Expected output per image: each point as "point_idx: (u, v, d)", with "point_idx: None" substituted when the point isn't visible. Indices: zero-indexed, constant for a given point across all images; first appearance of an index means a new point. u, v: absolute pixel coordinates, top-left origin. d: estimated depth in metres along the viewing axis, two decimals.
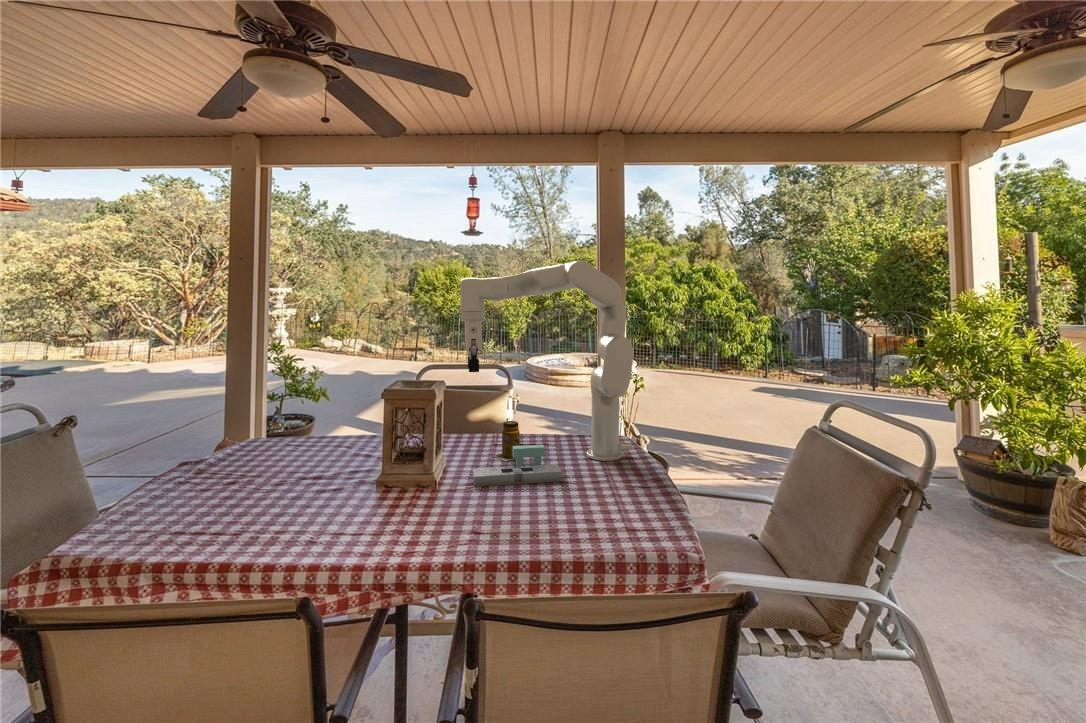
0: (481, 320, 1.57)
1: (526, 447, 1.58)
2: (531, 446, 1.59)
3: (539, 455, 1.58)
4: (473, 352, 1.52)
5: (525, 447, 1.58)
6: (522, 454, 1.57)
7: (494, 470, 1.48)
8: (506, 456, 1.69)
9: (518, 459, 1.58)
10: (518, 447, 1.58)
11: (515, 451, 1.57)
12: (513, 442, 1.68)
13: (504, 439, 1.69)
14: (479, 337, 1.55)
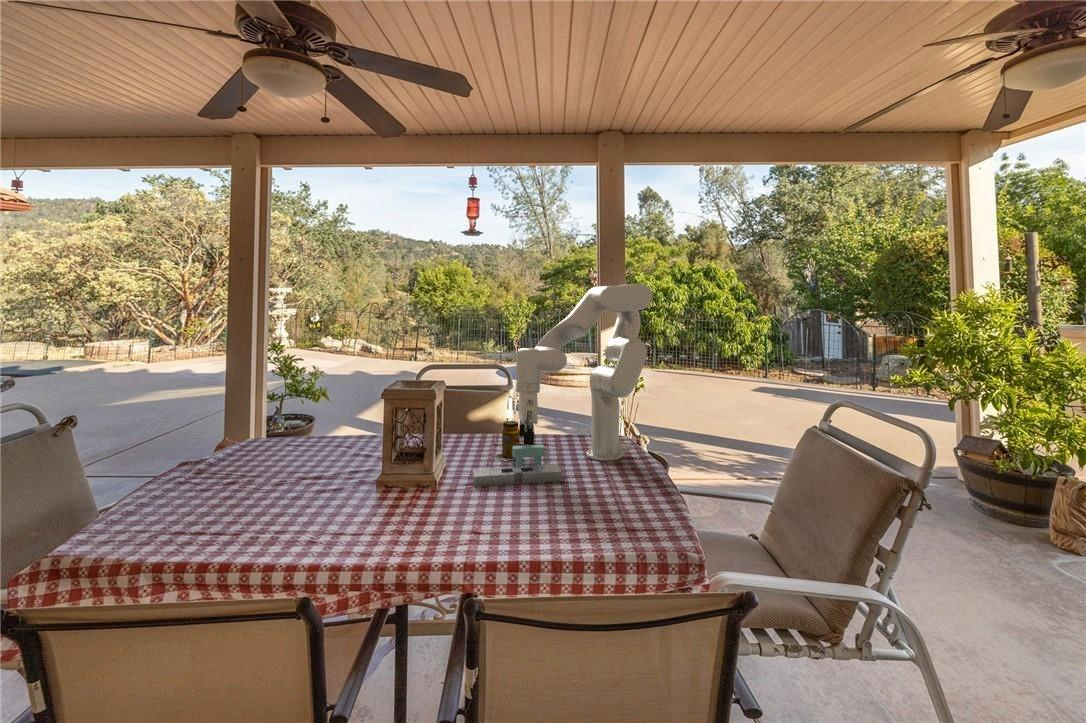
0: (537, 391, 1.54)
1: (526, 447, 1.58)
2: (531, 446, 1.59)
3: (539, 455, 1.58)
4: (530, 426, 1.50)
5: (525, 447, 1.58)
6: (522, 454, 1.57)
7: (494, 470, 1.48)
8: (506, 456, 1.69)
9: (518, 459, 1.58)
10: (518, 447, 1.58)
11: (515, 451, 1.57)
12: (513, 442, 1.68)
13: (504, 439, 1.69)
14: (535, 409, 1.52)
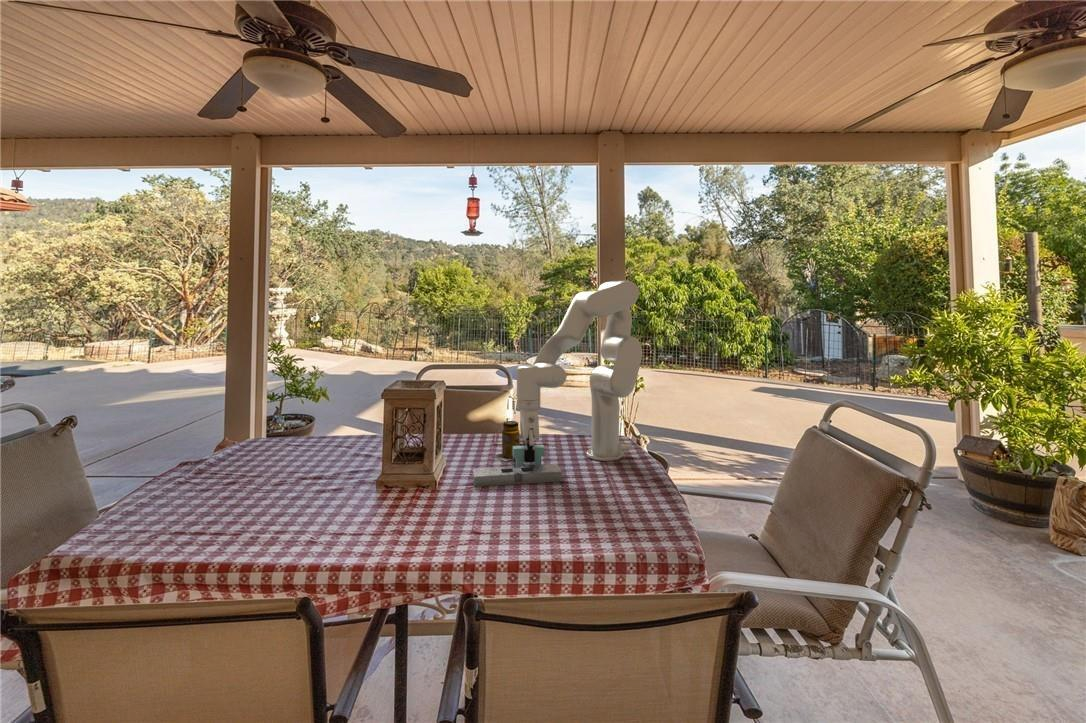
0: (538, 408, 1.55)
1: None
2: None
3: (539, 455, 1.58)
4: (530, 446, 1.54)
5: None
6: (522, 454, 1.57)
7: (494, 470, 1.48)
8: (506, 456, 1.69)
9: (518, 459, 1.58)
10: (518, 447, 1.58)
11: (515, 451, 1.57)
12: (513, 442, 1.68)
13: (504, 439, 1.69)
14: (536, 426, 1.53)
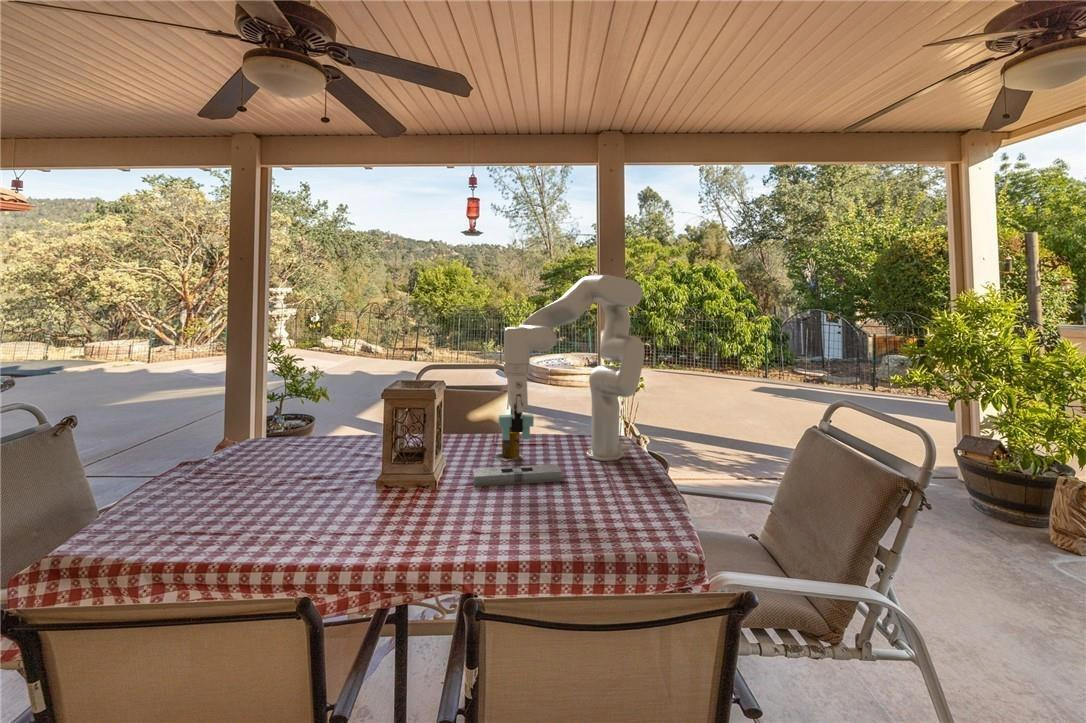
0: (526, 373, 1.43)
1: None
2: None
3: (527, 425, 1.46)
4: (517, 414, 1.41)
5: (512, 415, 1.46)
6: (508, 423, 1.45)
7: (494, 470, 1.48)
8: (506, 456, 1.69)
9: (504, 429, 1.45)
10: (505, 416, 1.46)
11: (501, 420, 1.44)
12: (513, 442, 1.68)
13: None
14: (525, 392, 1.41)
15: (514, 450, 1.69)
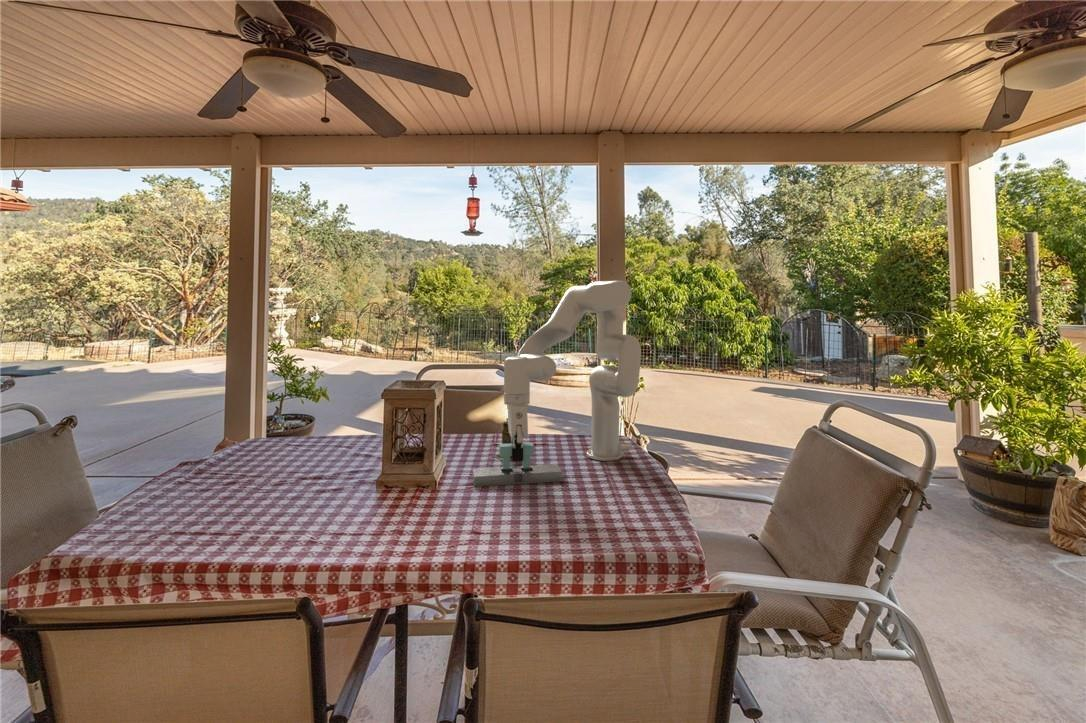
0: (527, 403, 1.44)
1: None
2: None
3: (528, 454, 1.47)
4: (518, 444, 1.42)
5: (512, 444, 1.47)
6: (509, 452, 1.46)
7: (494, 470, 1.48)
8: None
9: (505, 458, 1.46)
10: (505, 445, 1.47)
11: (502, 449, 1.45)
12: None
13: (504, 439, 1.69)
14: (525, 423, 1.42)
15: None
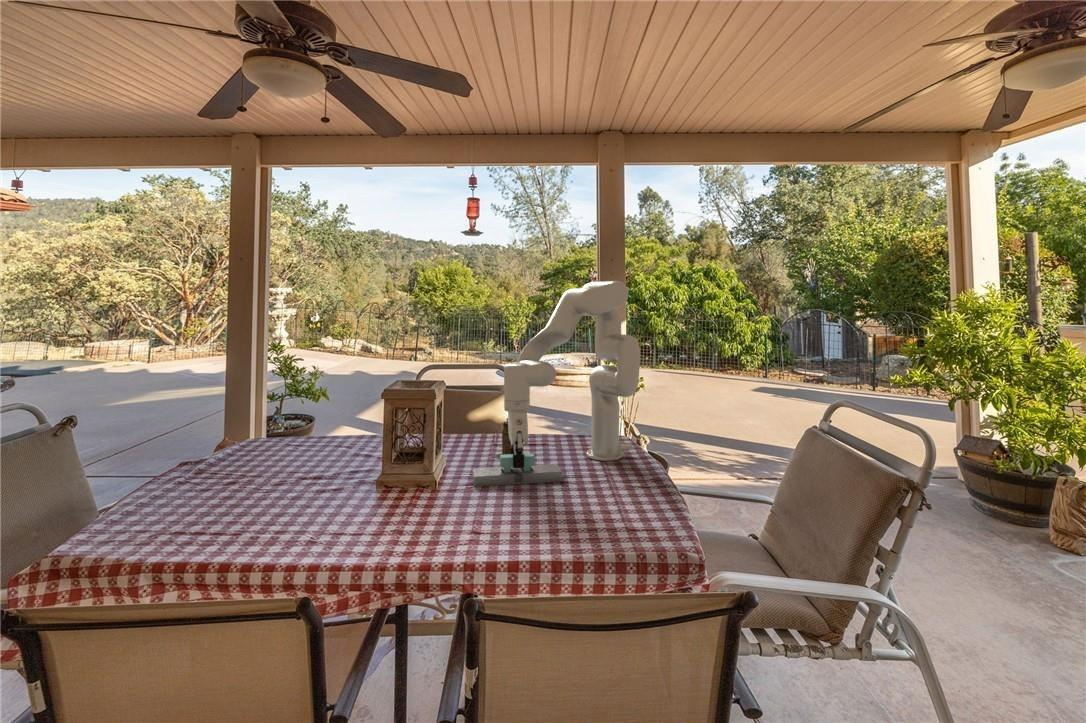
0: (527, 409, 1.44)
1: None
2: None
3: (528, 464, 1.47)
4: (519, 450, 1.41)
5: None
6: (509, 463, 1.46)
7: (494, 470, 1.48)
8: None
9: (506, 469, 1.47)
10: (506, 456, 1.47)
11: (502, 460, 1.46)
12: None
13: (504, 439, 1.69)
14: (525, 429, 1.42)
15: None
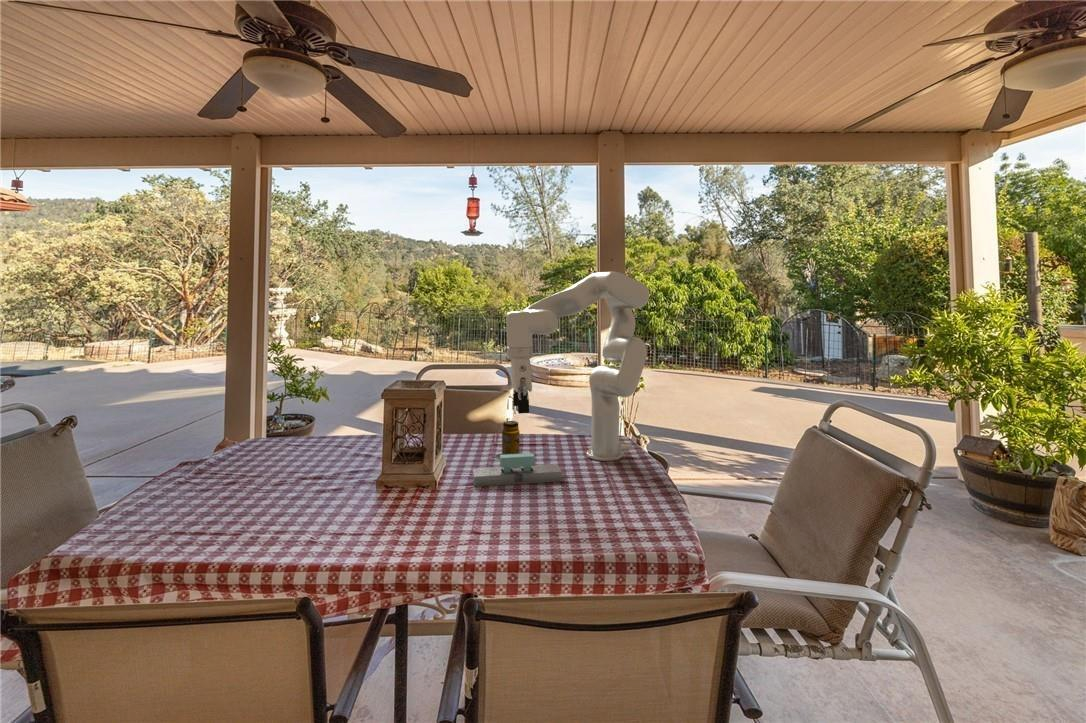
0: (530, 356, 1.45)
1: (514, 456, 1.47)
2: (520, 455, 1.48)
3: (528, 464, 1.47)
4: (524, 393, 1.40)
5: (513, 455, 1.48)
6: (509, 463, 1.46)
7: (494, 470, 1.48)
8: None
9: (506, 469, 1.47)
10: (506, 456, 1.47)
11: (502, 460, 1.46)
12: (513, 442, 1.68)
13: (504, 439, 1.69)
14: (529, 375, 1.43)
15: (514, 450, 1.69)
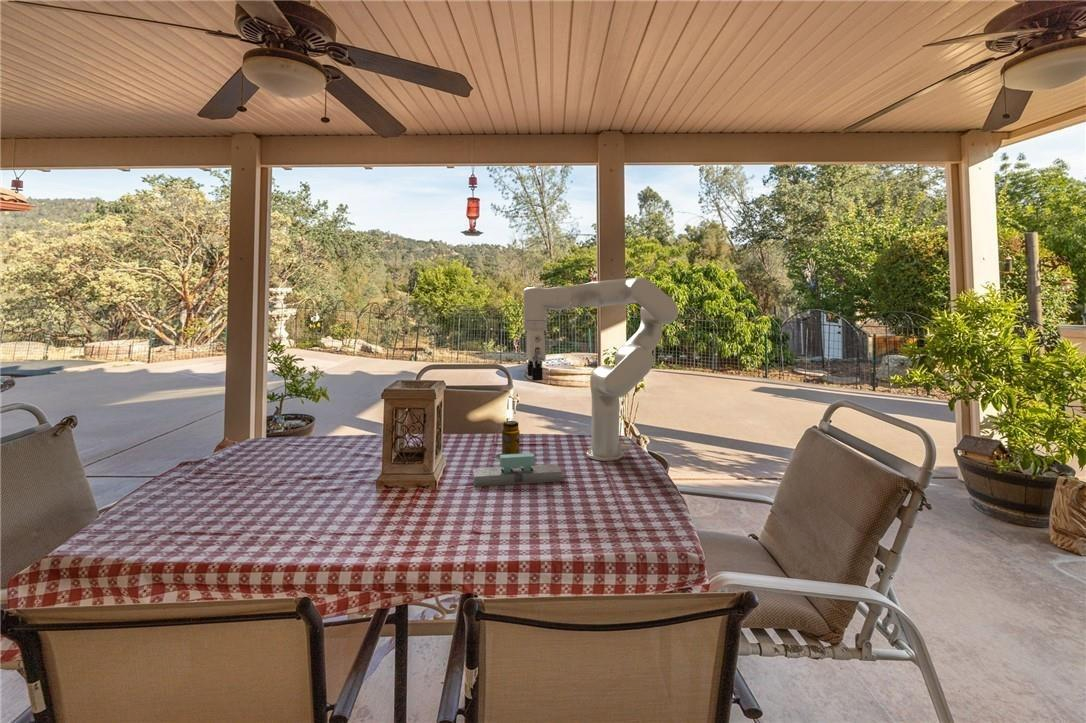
0: (544, 329, 1.59)
1: (514, 456, 1.47)
2: (520, 455, 1.48)
3: (528, 464, 1.47)
4: (538, 361, 1.54)
5: (513, 455, 1.48)
6: (509, 463, 1.46)
7: (494, 470, 1.48)
8: None
9: (506, 469, 1.47)
10: (506, 456, 1.47)
11: (502, 460, 1.46)
12: (513, 442, 1.68)
13: (504, 439, 1.69)
14: (543, 346, 1.57)
15: (514, 450, 1.69)
